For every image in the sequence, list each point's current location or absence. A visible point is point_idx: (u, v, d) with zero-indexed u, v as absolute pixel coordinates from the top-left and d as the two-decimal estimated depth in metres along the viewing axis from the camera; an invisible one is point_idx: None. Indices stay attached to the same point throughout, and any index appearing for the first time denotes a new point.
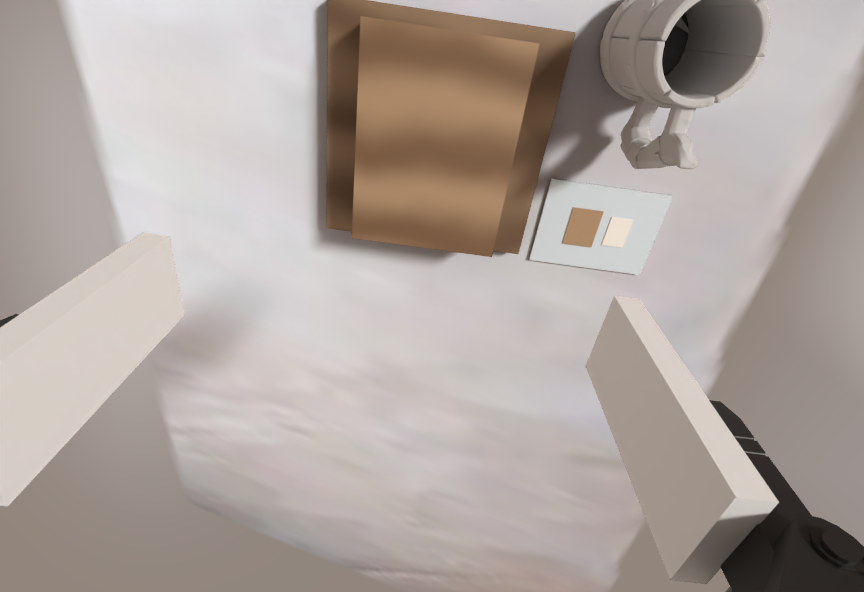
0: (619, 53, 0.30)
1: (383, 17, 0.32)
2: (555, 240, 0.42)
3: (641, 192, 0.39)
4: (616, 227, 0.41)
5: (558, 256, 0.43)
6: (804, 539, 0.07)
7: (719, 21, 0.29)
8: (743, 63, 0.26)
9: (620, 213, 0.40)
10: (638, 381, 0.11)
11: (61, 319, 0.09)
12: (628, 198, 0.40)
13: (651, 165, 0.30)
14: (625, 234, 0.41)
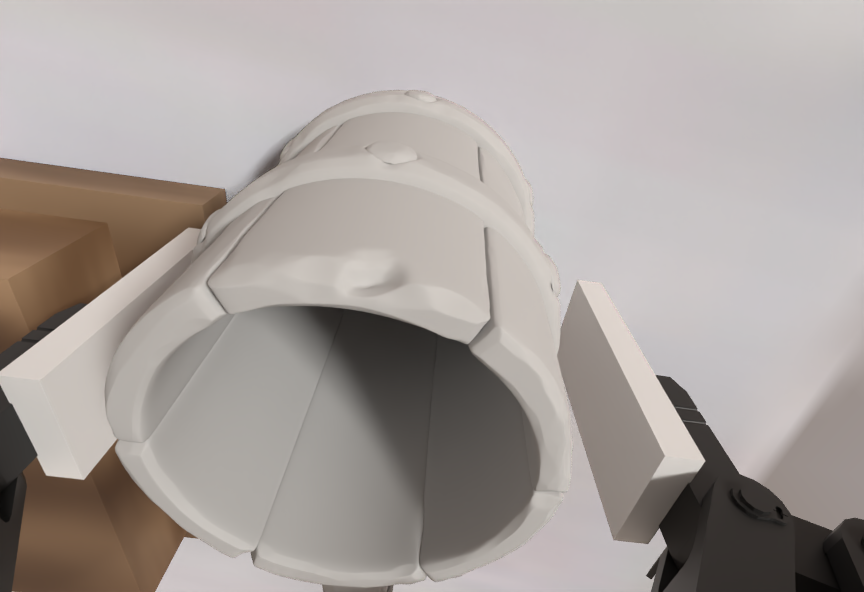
0: None
1: None
2: None
3: None
4: None
5: None
6: (725, 495, 0.08)
7: None
8: (514, 463, 0.07)
9: None
10: (593, 358, 0.12)
11: (128, 307, 0.10)
12: None
13: None
14: None
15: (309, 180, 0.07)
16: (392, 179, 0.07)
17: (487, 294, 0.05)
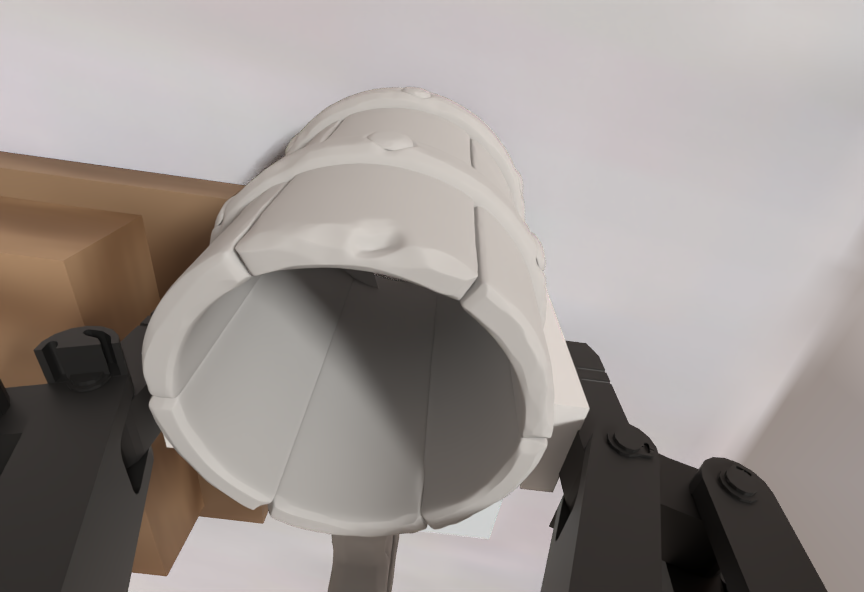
0: None
1: None
2: None
3: None
4: None
5: None
6: (602, 441, 0.08)
7: None
8: (505, 419, 0.08)
9: None
10: None
11: None
12: None
13: None
14: None
15: (317, 166, 0.08)
16: (391, 164, 0.07)
17: (476, 258, 0.06)
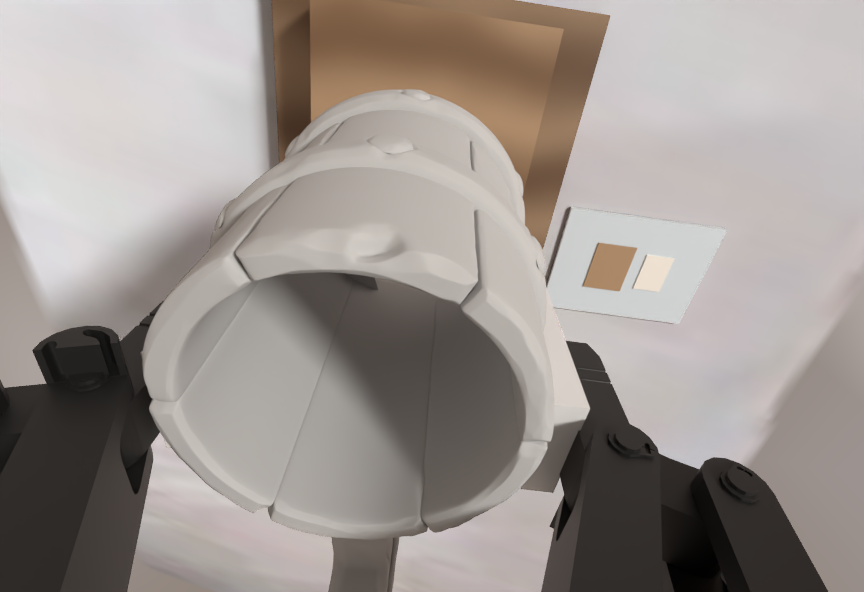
0: None
1: None
2: (574, 282, 0.33)
3: (686, 224, 0.31)
4: (653, 267, 0.32)
5: (577, 301, 0.34)
6: (603, 441, 0.08)
7: None
8: (505, 422, 0.08)
9: (658, 250, 0.32)
10: None
11: None
12: (669, 232, 0.31)
13: None
14: (663, 276, 0.33)
15: (317, 169, 0.08)
16: (392, 168, 0.07)
17: (476, 262, 0.06)
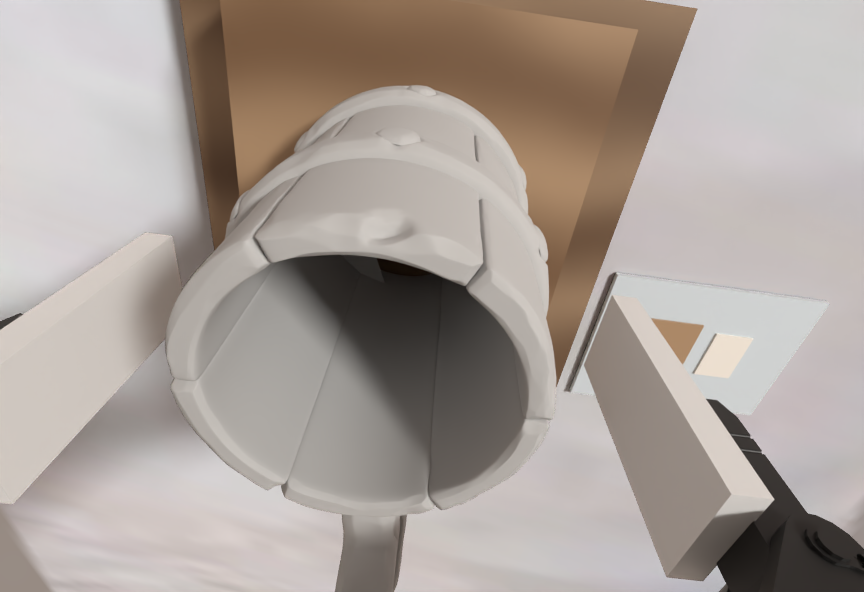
0: None
1: None
2: None
3: (774, 296, 0.22)
4: (723, 349, 0.24)
5: None
6: (799, 536, 0.07)
7: None
8: (509, 403, 0.08)
9: (731, 328, 0.23)
10: (634, 379, 0.11)
11: (65, 318, 0.09)
12: (750, 306, 0.23)
13: None
14: (736, 359, 0.24)
15: (328, 161, 0.08)
16: (399, 159, 0.08)
17: (481, 247, 0.06)
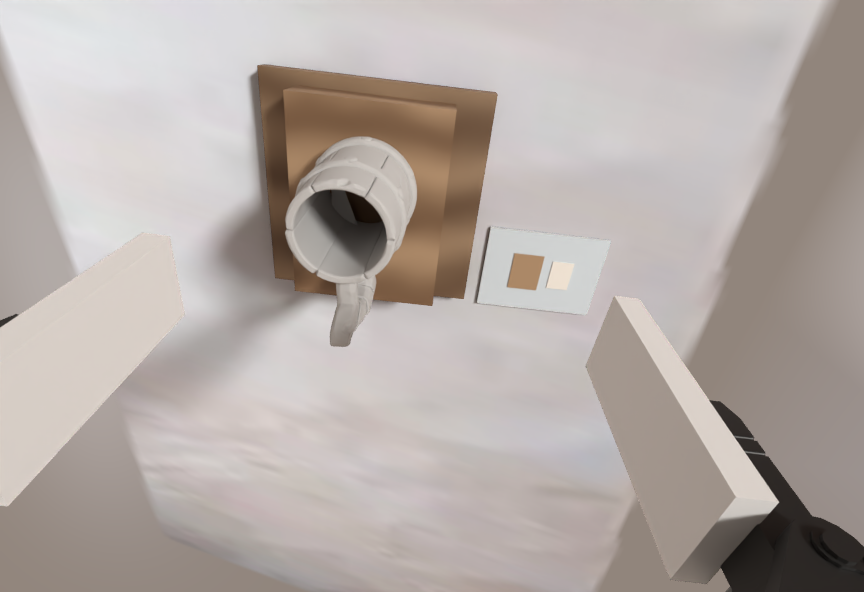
0: None
1: (312, 85, 0.33)
2: (500, 284, 0.43)
3: (579, 238, 0.40)
4: (559, 271, 0.42)
5: (504, 299, 0.44)
6: (804, 539, 0.07)
7: None
8: None
9: (561, 258, 0.41)
10: (638, 381, 0.11)
11: (61, 319, 0.09)
12: (567, 244, 0.40)
13: None
14: (568, 277, 0.42)
15: (329, 167, 0.26)
16: (350, 166, 0.26)
17: (369, 188, 0.24)
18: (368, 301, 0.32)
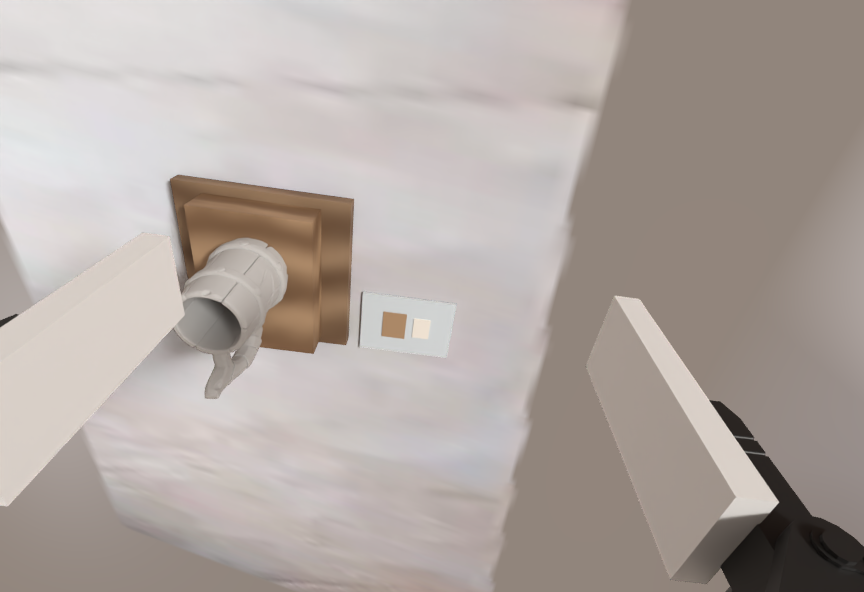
0: None
1: (212, 193, 0.45)
2: (376, 333, 0.54)
3: (432, 302, 0.52)
4: (419, 325, 0.53)
5: (381, 344, 0.55)
6: (804, 539, 0.07)
7: None
8: None
9: (420, 315, 0.53)
10: (638, 381, 0.11)
11: (61, 319, 0.09)
12: (423, 306, 0.52)
13: None
14: (427, 330, 0.54)
15: (204, 275, 0.37)
16: (219, 274, 0.37)
17: (226, 295, 0.36)
18: (248, 358, 0.43)
